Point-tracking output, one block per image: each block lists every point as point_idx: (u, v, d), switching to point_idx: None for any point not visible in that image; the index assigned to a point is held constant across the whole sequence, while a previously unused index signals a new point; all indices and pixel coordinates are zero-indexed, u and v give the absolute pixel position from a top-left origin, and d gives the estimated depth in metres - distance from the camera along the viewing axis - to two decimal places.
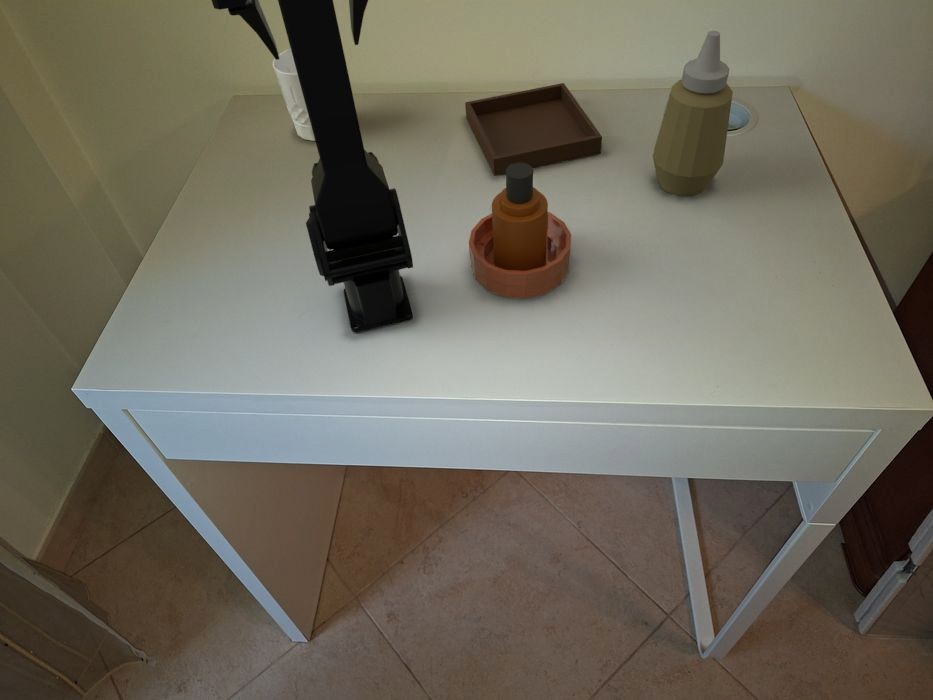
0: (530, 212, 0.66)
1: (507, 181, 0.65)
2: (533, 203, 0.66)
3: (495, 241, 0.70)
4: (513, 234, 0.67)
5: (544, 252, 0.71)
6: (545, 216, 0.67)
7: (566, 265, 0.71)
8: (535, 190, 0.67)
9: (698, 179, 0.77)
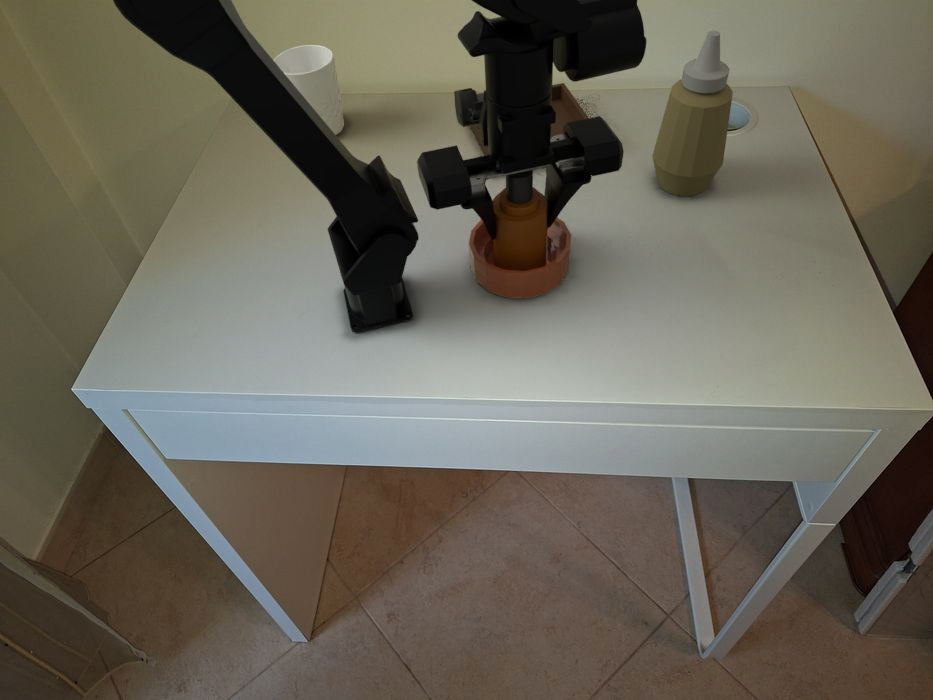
0: (530, 212, 0.66)
1: (507, 181, 0.65)
2: (533, 203, 0.66)
3: (495, 241, 0.70)
4: (513, 234, 0.67)
5: (544, 252, 0.71)
6: (545, 216, 0.67)
7: (566, 265, 0.71)
8: (535, 190, 0.67)
9: (698, 179, 0.77)
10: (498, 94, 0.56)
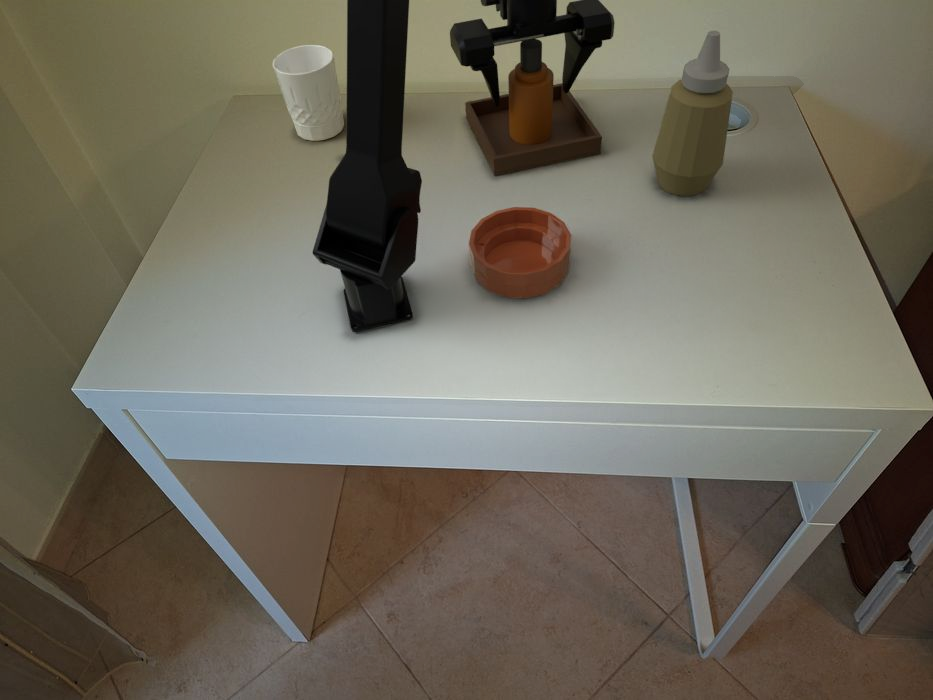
0: (540, 79, 0.82)
1: (521, 52, 0.81)
2: (542, 72, 0.82)
3: (511, 109, 0.86)
4: (525, 98, 0.83)
5: (550, 119, 0.87)
6: (551, 84, 0.83)
7: (566, 265, 0.71)
8: (543, 63, 0.83)
9: (698, 179, 0.77)
10: None
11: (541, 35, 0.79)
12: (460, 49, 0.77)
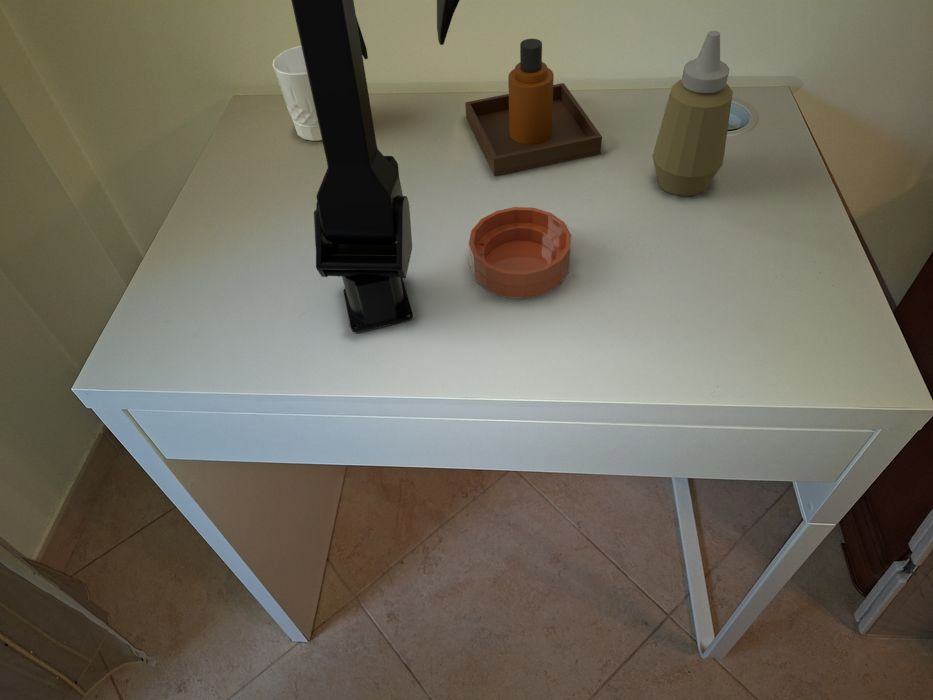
0: (540, 79, 0.82)
1: (521, 52, 0.81)
2: (542, 72, 0.82)
3: (511, 109, 0.86)
4: (525, 98, 0.83)
5: (550, 119, 0.87)
6: (551, 84, 0.83)
7: (566, 265, 0.71)
8: (543, 63, 0.83)
9: (698, 179, 0.77)
10: None
11: None
12: None
